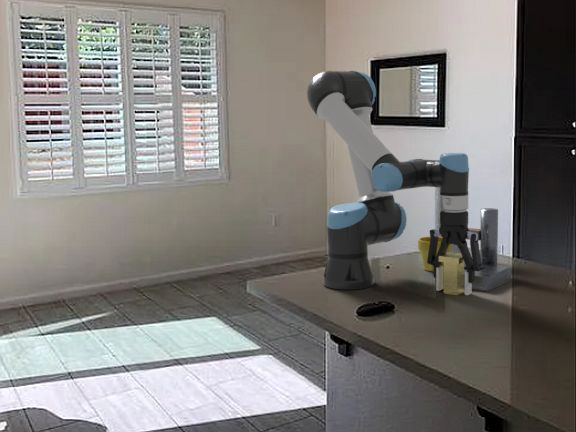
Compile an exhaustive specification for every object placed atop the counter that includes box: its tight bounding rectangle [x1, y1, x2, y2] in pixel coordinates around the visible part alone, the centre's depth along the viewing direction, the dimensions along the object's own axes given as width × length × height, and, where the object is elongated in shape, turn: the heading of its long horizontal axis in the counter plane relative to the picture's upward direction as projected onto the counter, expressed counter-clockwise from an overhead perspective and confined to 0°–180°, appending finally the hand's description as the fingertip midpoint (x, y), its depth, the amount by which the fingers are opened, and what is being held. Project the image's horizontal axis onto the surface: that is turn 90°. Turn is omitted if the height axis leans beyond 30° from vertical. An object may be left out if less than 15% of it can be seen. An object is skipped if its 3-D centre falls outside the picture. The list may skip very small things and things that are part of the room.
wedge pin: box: [439, 252, 465, 296], centre depth 185 cm, size 6×6×11 cm
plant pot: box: [417, 236, 451, 272], centre depth 214 cm, size 10×10×10 cm
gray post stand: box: [434, 207, 512, 292], centre depth 198 cm, size 16×21×20 cm
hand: (453, 291), depth 186 cm, fingers open, 8 cm apart
